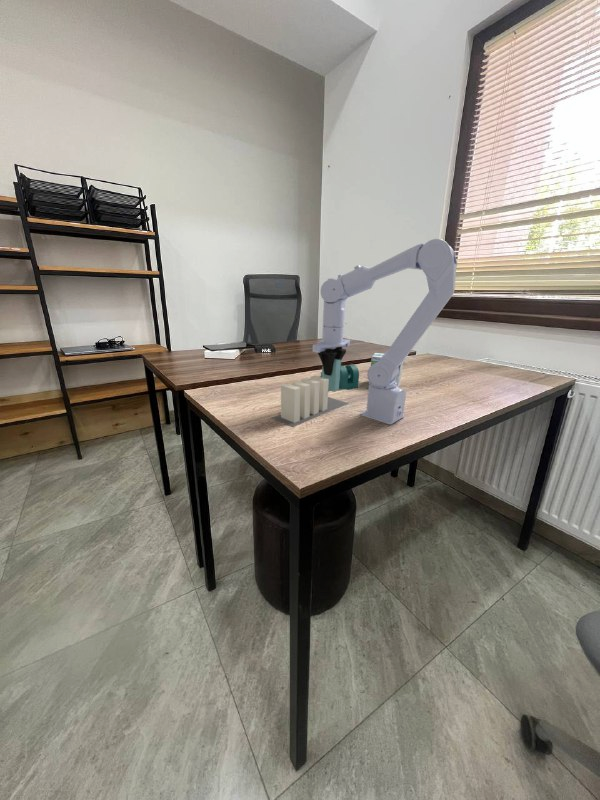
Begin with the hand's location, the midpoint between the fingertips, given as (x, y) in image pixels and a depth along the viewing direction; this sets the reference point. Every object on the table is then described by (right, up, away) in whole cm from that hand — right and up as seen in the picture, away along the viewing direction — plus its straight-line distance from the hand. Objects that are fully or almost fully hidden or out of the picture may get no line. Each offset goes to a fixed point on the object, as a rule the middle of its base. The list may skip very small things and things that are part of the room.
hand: (330, 374), depth 89 cm
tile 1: (0, -4, +2) cm, 4 cm away
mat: (-5, -11, -2) cm, 12 cm away
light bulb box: (+22, -2, +24) cm, 33 cm away
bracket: (+5, -1, +26) cm, 26 cm away
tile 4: (-9, -12, -5) cm, 16 cm away
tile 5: (-11, -13, -8) cm, 19 cm away
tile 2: (-4, -10, 0) cm, 10 cm away
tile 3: (-6, -11, -3) cm, 13 cm away
